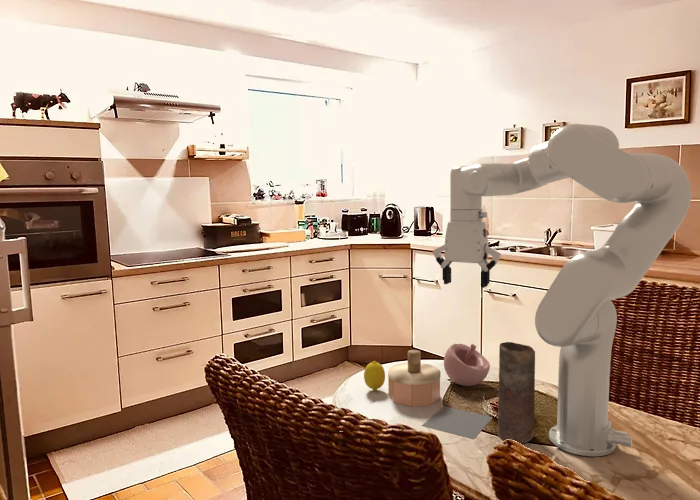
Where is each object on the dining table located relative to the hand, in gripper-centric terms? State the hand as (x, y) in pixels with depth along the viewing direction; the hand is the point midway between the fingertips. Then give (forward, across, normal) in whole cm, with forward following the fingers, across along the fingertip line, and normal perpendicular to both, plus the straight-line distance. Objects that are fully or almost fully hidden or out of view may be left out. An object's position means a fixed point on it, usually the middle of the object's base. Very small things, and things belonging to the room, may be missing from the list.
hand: (465, 285), depth 133 cm
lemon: (+28, +21, +10) cm, 37 cm away
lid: (+22, +10, +9) cm, 26 cm away
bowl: (+28, +10, +9) cm, 31 cm away
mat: (+28, -5, +17) cm, 33 cm away
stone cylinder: (+28, -18, +17) cm, 38 cm away
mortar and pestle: (+28, +2, -6) cm, 29 cm away
